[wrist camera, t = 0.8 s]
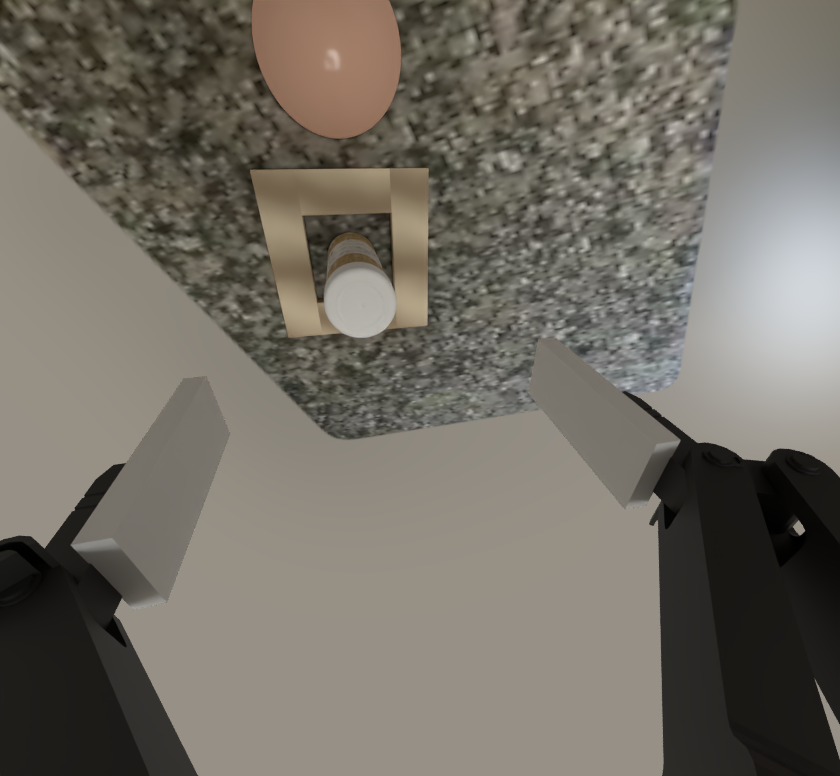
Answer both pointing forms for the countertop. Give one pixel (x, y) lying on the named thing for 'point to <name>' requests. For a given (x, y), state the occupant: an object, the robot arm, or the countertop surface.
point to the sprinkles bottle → (357, 288)
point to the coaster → (329, 61)
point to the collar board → (331, 195)
